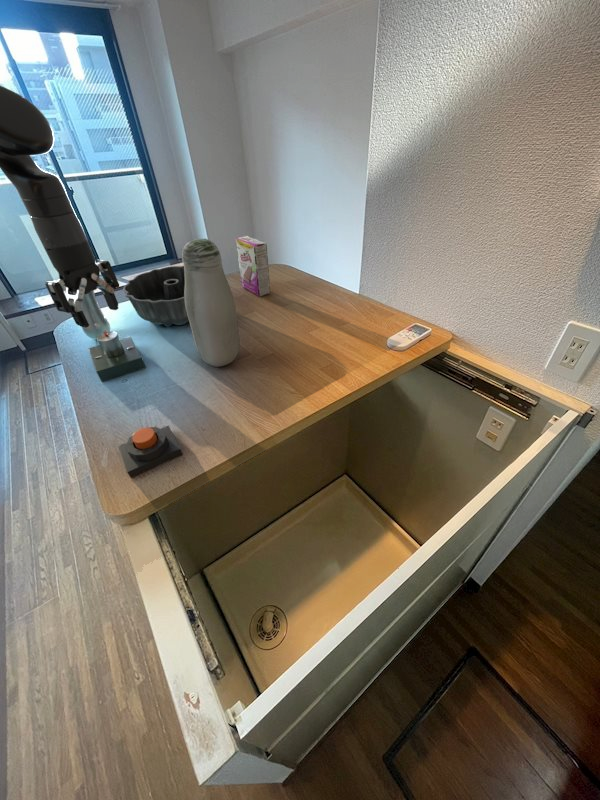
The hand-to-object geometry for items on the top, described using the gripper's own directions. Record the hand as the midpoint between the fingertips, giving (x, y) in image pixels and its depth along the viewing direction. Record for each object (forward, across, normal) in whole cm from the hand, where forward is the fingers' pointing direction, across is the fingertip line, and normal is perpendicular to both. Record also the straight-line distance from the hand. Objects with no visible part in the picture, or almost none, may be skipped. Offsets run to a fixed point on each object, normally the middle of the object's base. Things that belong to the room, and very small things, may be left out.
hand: (100, 317), depth 73 cm
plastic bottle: (+13, -9, -15) cm, 22 cm away
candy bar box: (+13, -51, +12) cm, 54 cm away
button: (+9, +21, +27) cm, 35 cm away
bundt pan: (+13, -28, -2) cm, 31 cm away
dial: (+9, 0, 0) cm, 9 cm away
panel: (+12, 0, 0) cm, 12 cm away
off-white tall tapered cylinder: (+13, -9, +24) cm, 28 cm away
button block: (+12, +21, +27) cm, 36 cm away
